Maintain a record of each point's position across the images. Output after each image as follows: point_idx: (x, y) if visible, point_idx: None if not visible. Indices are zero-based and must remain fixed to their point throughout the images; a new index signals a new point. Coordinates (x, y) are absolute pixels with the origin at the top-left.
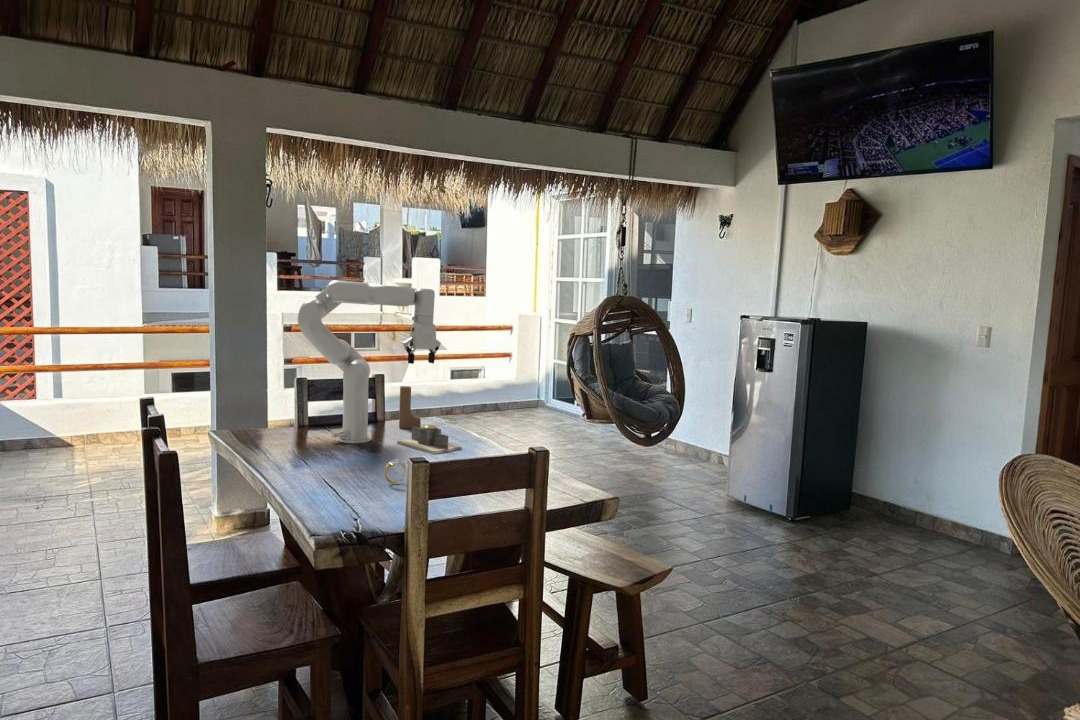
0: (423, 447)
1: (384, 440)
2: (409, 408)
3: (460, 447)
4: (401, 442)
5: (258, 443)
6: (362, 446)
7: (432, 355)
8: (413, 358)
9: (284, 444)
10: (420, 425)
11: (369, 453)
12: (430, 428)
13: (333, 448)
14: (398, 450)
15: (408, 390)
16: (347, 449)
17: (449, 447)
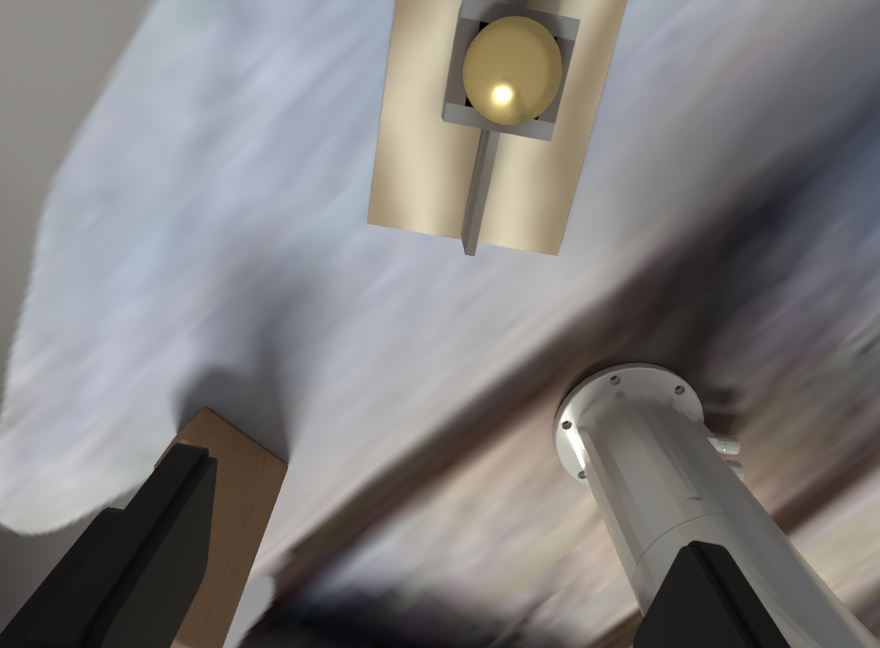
0: (599, 29)
1: (537, 342)
2: (216, 512)
3: None
4: (567, 219)
5: (869, 596)
6: (706, 323)
7: (129, 612)
8: (769, 631)
9: (840, 538)
10: (195, 416)
11: (818, 195)
12: (547, 32)
13: (808, 378)
14: (682, 134)
15: None
16: (795, 325)
17: None
